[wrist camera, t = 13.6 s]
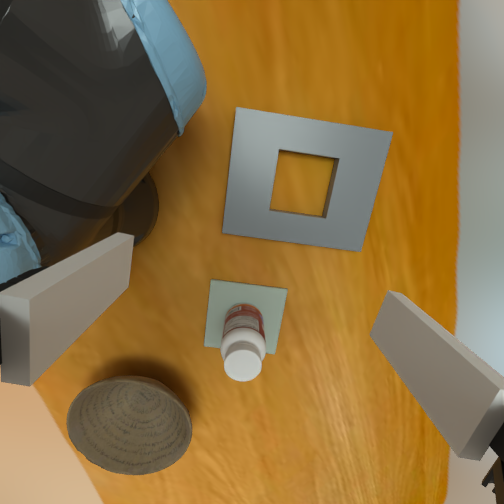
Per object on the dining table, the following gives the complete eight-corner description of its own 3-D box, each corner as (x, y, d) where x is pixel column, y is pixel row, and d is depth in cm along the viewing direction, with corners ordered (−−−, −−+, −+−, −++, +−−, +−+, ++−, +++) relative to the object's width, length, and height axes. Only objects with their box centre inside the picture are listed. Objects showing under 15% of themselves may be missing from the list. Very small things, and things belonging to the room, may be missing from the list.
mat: (204, 344, 46) (203, 346, 45) (211, 279, 42) (210, 280, 42) (274, 352, 46) (274, 354, 46) (287, 288, 43) (287, 289, 43)
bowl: (189, 342, 46) (178, 377, 38) (207, 425, 51) (200, 471, 43) (81, 353, 46) (48, 390, 38) (110, 435, 52) (85, 481, 44)
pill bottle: (256, 339, 45) (258, 392, 35) (220, 329, 45) (211, 380, 34) (268, 307, 44) (275, 352, 33) (231, 296, 43) (225, 339, 32)
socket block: (223, 229, 40) (222, 233, 38) (237, 110, 35) (236, 107, 34) (355, 247, 41) (360, 251, 39) (385, 134, 37) (393, 132, 35)
